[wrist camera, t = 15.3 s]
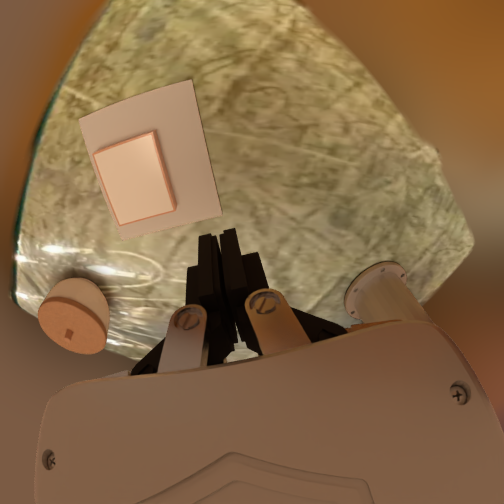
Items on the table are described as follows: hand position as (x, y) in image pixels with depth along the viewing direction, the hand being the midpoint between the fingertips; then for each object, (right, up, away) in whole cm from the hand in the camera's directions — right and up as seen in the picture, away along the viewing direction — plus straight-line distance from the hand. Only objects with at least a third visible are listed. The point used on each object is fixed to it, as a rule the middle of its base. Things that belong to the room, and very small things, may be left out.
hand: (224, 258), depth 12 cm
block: (-8, +9, +14) cm, 18 cm away
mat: (-10, +10, +15) cm, 20 cm away
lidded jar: (-24, -6, +23) cm, 34 cm away
